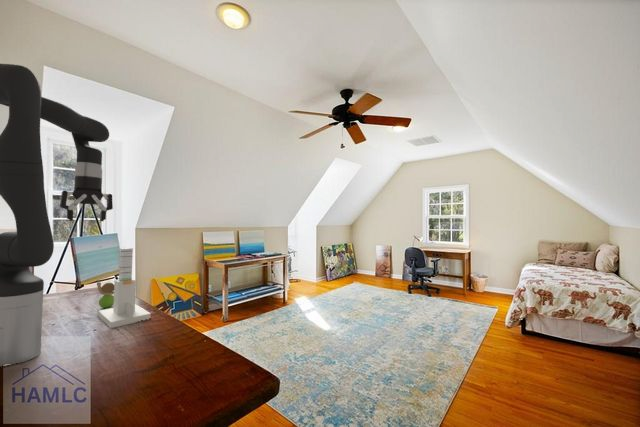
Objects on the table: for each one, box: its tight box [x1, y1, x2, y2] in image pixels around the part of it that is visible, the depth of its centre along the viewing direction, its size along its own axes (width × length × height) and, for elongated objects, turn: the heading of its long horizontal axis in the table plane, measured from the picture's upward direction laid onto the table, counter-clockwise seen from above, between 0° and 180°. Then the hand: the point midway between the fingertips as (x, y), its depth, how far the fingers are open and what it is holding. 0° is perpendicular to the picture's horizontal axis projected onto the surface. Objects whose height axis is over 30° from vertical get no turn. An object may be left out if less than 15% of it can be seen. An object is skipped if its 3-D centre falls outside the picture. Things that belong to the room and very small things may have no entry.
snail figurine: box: [96, 279, 114, 309], centre depth 112 cm, size 5×6×12 cm
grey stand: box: [97, 277, 152, 329], centre depth 102 cm, size 18×12×14 cm, turn 50°
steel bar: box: [118, 247, 134, 281], centre depth 102 cm, size 3×3×17 cm
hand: (87, 221), depth 97 cm, fingers open, 8 cm apart
